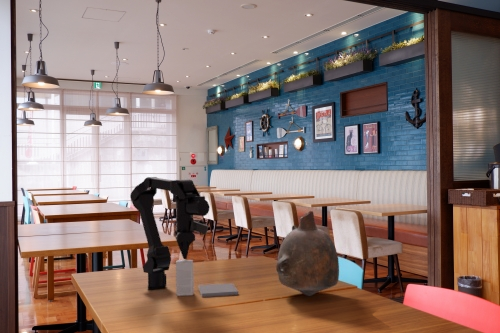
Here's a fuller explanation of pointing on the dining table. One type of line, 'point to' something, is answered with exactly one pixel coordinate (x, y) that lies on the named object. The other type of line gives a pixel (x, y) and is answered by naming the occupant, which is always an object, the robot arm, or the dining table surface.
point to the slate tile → (218, 290)
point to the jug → (308, 258)
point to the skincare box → (184, 277)
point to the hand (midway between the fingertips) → (184, 257)
